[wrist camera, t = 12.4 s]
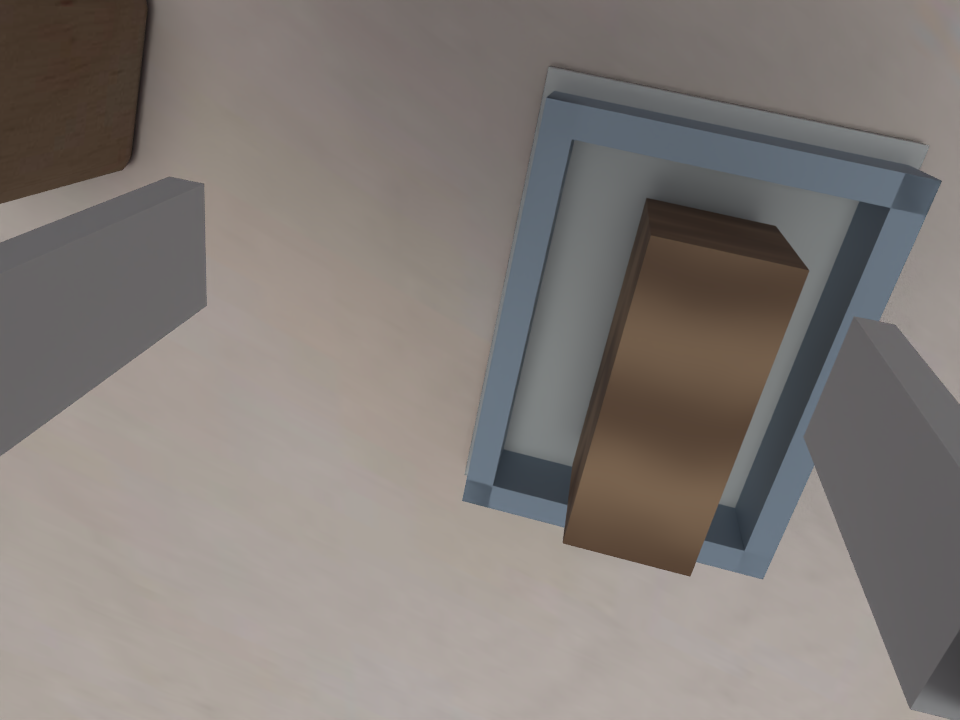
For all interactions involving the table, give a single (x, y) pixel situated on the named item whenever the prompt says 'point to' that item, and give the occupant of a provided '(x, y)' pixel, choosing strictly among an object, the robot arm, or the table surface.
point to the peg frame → (604, 259)
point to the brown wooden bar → (679, 382)
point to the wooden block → (67, 90)
